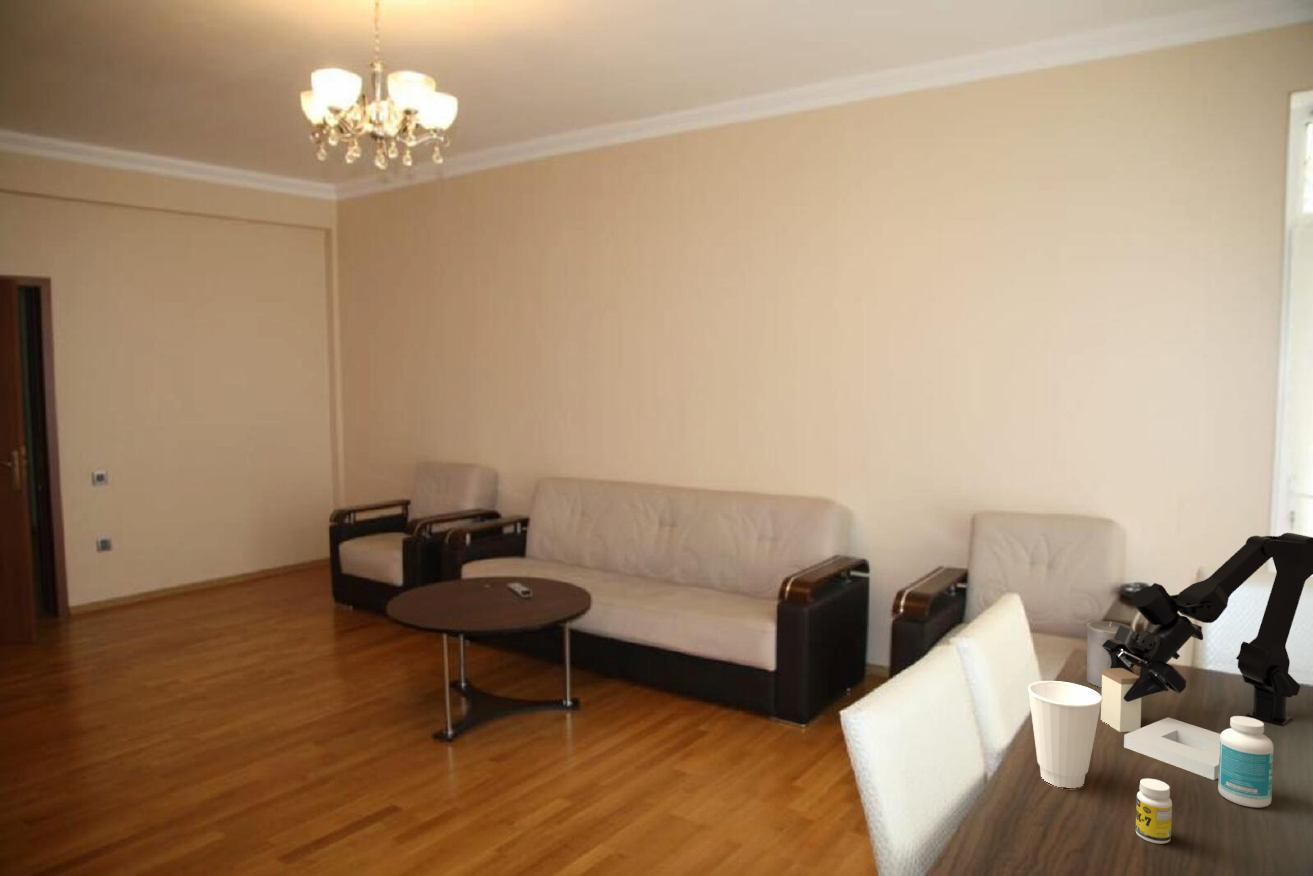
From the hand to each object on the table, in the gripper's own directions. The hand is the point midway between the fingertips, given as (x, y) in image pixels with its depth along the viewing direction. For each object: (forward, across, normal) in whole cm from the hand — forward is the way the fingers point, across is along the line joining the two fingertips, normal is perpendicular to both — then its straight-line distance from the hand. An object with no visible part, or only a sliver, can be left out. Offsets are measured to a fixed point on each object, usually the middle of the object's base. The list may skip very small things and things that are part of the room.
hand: (1114, 694), depth 172 cm
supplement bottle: (+20, +40, -11) cm, 46 cm away
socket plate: (+1, +14, +9) cm, 16 cm away
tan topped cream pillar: (+4, 0, +6) cm, 7 cm away
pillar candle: (-6, -23, +15) cm, 28 cm away
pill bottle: (+4, +31, +6) cm, 32 cm away
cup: (+22, +21, -13) cm, 33 cm away
